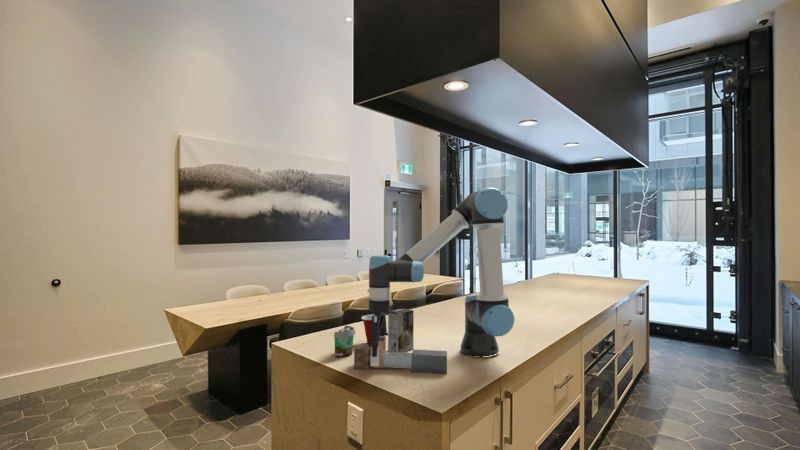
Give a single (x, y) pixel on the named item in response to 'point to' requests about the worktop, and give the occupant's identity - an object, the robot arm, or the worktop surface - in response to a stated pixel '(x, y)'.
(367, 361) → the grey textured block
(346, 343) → the food container
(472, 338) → the robot arm
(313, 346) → the worktop surface
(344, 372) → the worktop surface
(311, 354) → the worktop surface
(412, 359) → the block
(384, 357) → the slider
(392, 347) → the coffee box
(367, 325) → the plastic cup
